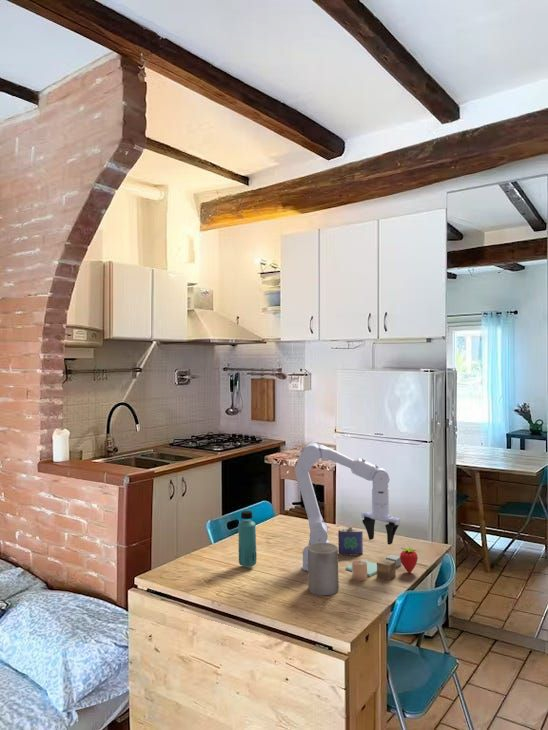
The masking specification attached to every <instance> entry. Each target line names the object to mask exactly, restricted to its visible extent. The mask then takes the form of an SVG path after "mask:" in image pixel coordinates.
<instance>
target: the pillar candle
mask: <svg viewBox="0 0 548 730" xmlns="http://www.w3.org/2000/svg"><path fill="white" fill-rule="evenodd" d="M307 546H308V545H307ZM338 550H339V549H338V546H337V545H336V544H333V543H330V542H329V543H314V544H311V545H310V546H308V571H307V572H308V573H307V575H308V576H307V577H308V580H307V581H308V583H307V584H308V591H309V593H311V594H313V595H316V596H332V595H335V594H337V593H338V592H339V588H340V587H339V586H340V583H339V552H338Z"/></svg>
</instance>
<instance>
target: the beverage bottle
mask: <svg viewBox="0 0 548 730" xmlns="http://www.w3.org/2000/svg"><path fill="white" fill-rule="evenodd" d="M240 514H241V515H240V518H241V519H242V520H241V521H239V523H238V524H237V527H238V554H237V555H238V564H239V565H240V566H241V567H253V566H255V565H256V564H257V535H256V534H257V533H256V530H257V529H256V527H257V526H256V522H255V521H253V520H251V519H253V511H251V510H243V511H241V513H240Z"/></svg>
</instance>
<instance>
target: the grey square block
mask: <svg viewBox="0 0 548 730" xmlns="http://www.w3.org/2000/svg"><path fill="white" fill-rule="evenodd" d="M385 559H386V560H390V561H394V562H396V568H398V567H401V566H402V563H401V560H400V555H396V554H388V556H385Z"/></svg>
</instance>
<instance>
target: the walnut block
mask: <svg viewBox="0 0 548 730" xmlns="http://www.w3.org/2000/svg"><path fill="white" fill-rule="evenodd" d="M376 564H377V573H376V577H377V578H380V579H383V580H386V581H390V580H391V579H393V578H395V577H396V575H397V573H396V568H397V567H396V562H394V561H390V560H386V558H383V559H381V560H379V561H377V562H376Z"/></svg>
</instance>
